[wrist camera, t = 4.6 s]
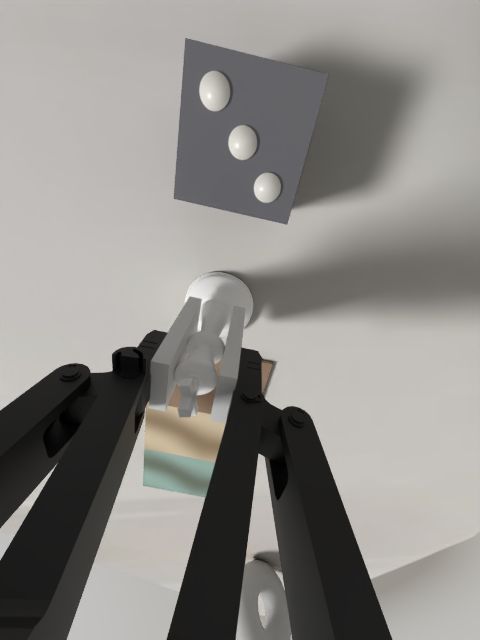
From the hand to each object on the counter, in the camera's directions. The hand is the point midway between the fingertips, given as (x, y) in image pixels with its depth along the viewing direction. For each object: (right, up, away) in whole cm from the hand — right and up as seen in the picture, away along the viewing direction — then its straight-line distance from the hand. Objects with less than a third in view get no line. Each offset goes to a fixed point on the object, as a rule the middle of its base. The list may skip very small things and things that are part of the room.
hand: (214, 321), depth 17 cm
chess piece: (0, +1, +2) cm, 3 cm away
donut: (+5, -36, +22) cm, 42 cm away
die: (+2, +9, -2) cm, 10 cm away
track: (-3, -11, +9) cm, 15 cm away
